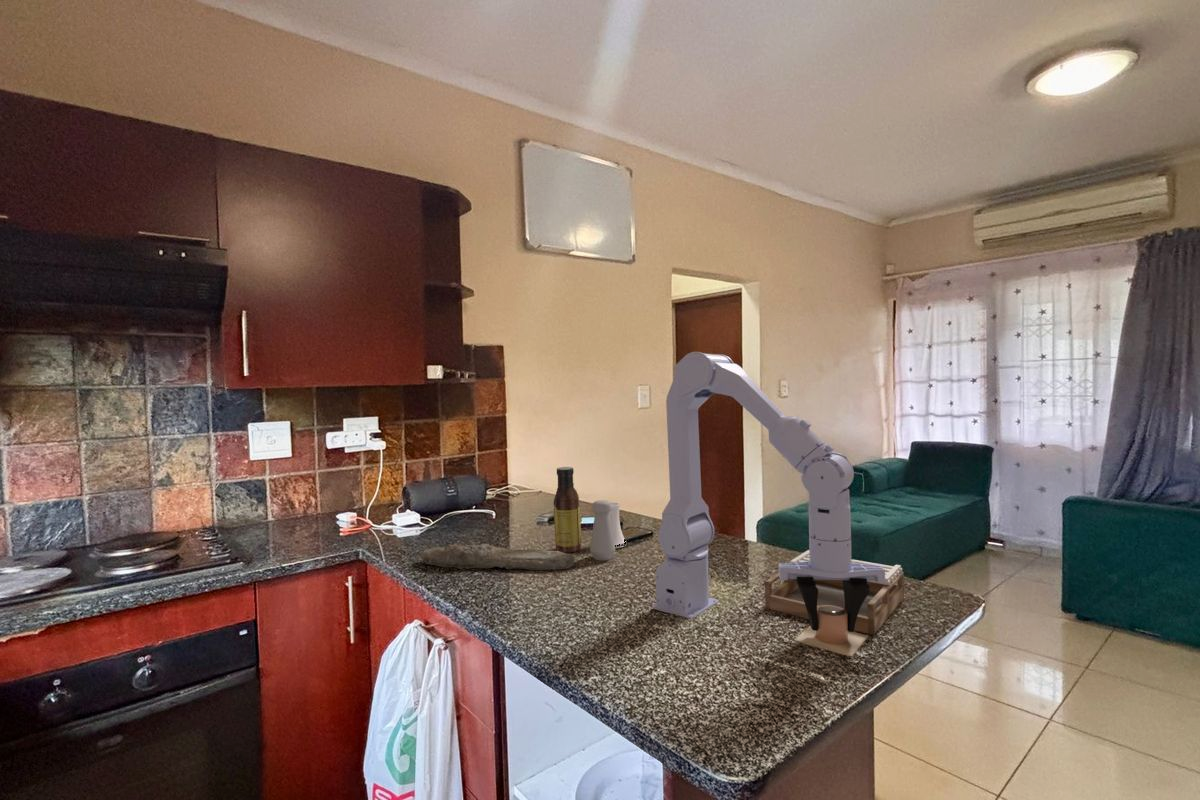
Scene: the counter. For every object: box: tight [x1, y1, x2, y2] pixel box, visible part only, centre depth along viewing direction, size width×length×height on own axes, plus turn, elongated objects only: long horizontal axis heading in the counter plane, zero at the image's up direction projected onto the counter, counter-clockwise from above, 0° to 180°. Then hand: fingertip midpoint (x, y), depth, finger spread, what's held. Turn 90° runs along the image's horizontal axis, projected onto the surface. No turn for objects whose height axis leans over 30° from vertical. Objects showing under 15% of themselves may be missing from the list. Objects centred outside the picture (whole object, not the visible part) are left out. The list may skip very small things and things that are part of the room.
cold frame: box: [764, 571, 905, 636], centre depth 95 cm, size 19×17×5 cm
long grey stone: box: [420, 543, 575, 572], centre depth 122 cm, size 35×5×10 cm
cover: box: [789, 549, 903, 585], centre depth 98 cm, size 9×17×1 cm, turn 49°
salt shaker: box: [589, 499, 616, 562], centre depth 125 cm, size 6×6×13 cm
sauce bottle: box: [553, 466, 582, 554], centre depth 132 cm, size 7×6×20 cm
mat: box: [794, 625, 869, 658], centre depth 81 cm, size 8×8×1 cm
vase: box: [609, 502, 627, 549], centre depth 136 cm, size 8×8×10 cm
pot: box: [816, 605, 848, 645], centre depth 81 cm, size 4×4×4 cm
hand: (831, 628), depth 81 cm, fingers closed on pot, 4 cm apart
